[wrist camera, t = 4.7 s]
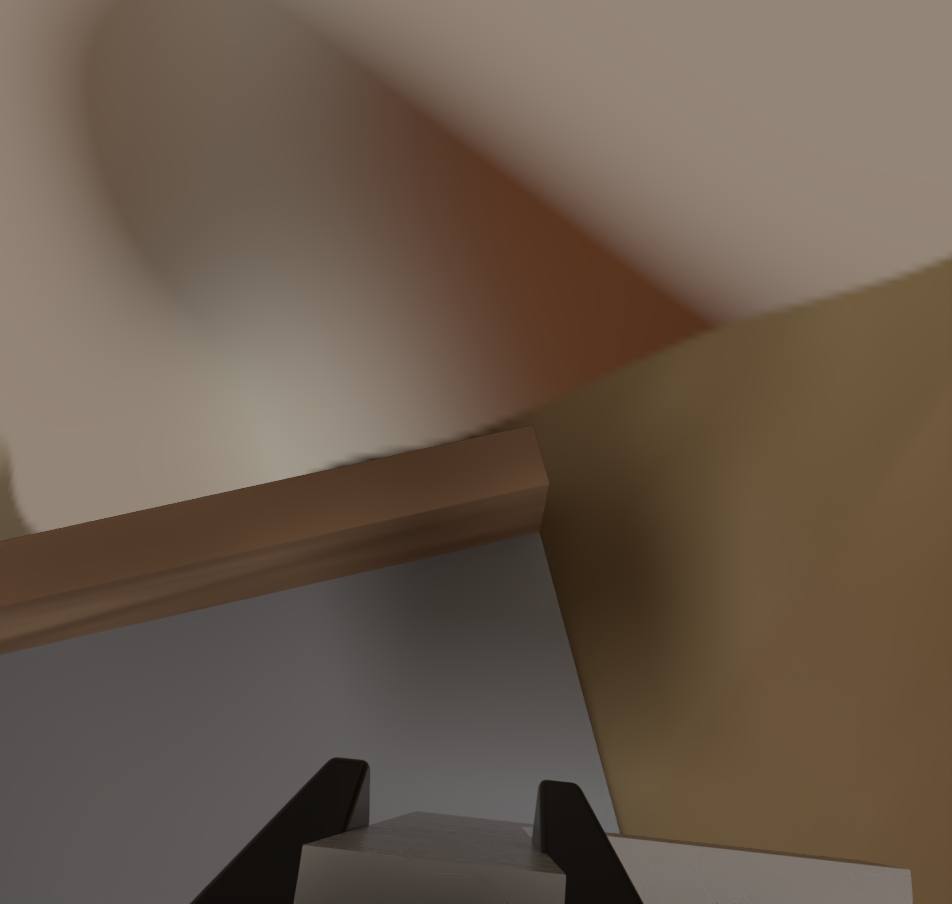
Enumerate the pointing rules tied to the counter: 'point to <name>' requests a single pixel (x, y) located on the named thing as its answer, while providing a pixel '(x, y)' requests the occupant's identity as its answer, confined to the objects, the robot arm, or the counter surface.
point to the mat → (286, 722)
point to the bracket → (543, 883)
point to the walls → (269, 538)
